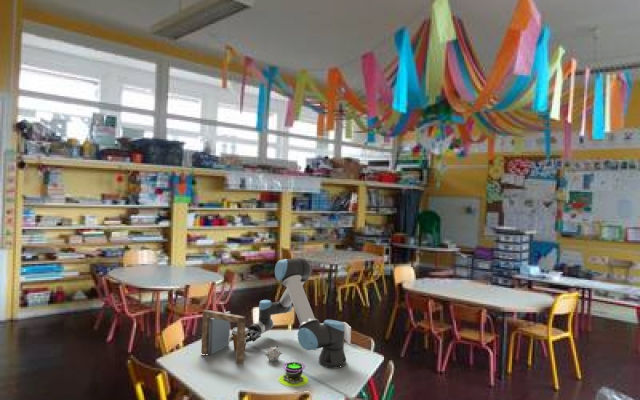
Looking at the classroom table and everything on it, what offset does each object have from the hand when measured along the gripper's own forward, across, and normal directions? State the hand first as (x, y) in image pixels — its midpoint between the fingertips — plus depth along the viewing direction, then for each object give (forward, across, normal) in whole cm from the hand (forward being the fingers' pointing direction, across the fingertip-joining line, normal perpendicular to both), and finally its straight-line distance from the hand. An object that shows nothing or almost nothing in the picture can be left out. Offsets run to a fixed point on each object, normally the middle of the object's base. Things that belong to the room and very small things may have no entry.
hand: (235, 341), depth 258 cm
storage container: (-46, -39, -8) cm, 61 cm away
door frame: (+7, +3, -8) cm, 11 cm away
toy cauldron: (+13, -43, -8) cm, 46 cm away
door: (-1, +13, -8) cm, 15 cm away
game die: (-3, -23, -8) cm, 24 cm away
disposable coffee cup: (-5, 0, -7) cm, 8 cm away
